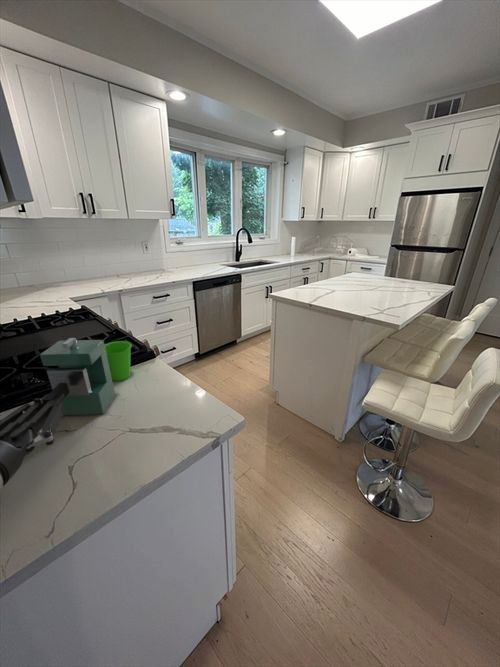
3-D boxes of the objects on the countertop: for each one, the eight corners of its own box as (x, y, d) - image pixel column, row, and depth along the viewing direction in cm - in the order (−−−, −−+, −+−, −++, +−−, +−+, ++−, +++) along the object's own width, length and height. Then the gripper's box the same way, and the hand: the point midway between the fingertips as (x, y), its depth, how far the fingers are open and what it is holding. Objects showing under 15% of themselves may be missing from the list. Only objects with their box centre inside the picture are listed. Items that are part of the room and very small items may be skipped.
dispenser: (59, 417, 70) (36, 346, 63) (75, 398, 78) (57, 332, 70) (104, 416, 71) (87, 345, 63) (115, 397, 78) (102, 332, 71)
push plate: (54, 396, 66) (46, 371, 64) (58, 392, 68) (50, 368, 65) (88, 395, 67) (82, 370, 64) (91, 391, 68) (86, 367, 66)
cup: (99, 383, 85) (91, 351, 81) (120, 369, 93) (114, 339, 89) (122, 388, 83) (116, 355, 78) (142, 373, 91) (137, 343, 86)
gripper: (-57, 494, 43) (39, 402, 65) (31, 490, 44) (97, 400, 66) (-78, 458, 40) (30, 374, 62) (16, 454, 41) (90, 372, 63)
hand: (64, 387), depth 64 cm, fingers closed
